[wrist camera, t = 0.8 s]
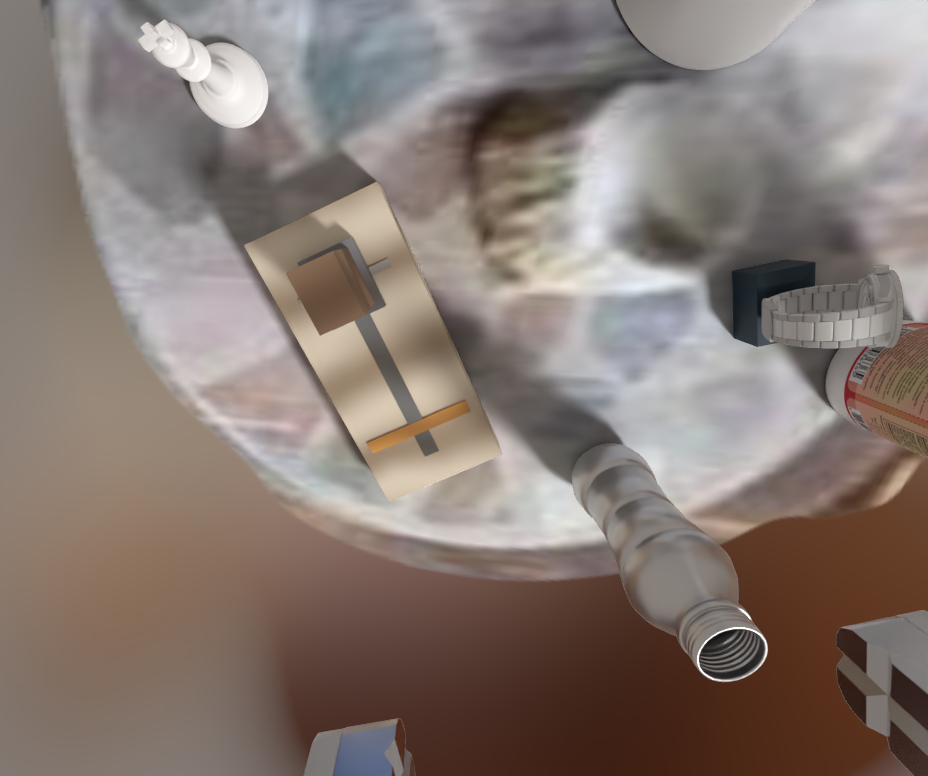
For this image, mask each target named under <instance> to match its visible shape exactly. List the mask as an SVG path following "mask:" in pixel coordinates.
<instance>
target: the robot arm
mask: <svg viewBox="0 0 928 776" xmlns="http://www.w3.org/2000/svg"><path fill="white" fill-rule="evenodd" d="M815 1H816V0H616V2H617V5H618V7H619V10H620V12H621V14H622V16H623V18H624V20H625V22H626V23H627V25H628V27H629V28H630V30H631V31H632V33H633V34H634V35H635V36H636V38H637V39H638V40H639V41H640V42H641V43H642V44H643V45H644V46H645V47H646V48H647V49H648V50H649V51H651V52H652V53H653V54H655V55H656V56H658V57H659V58H661V59H662V60H664V61H666V62H668V63H671V64H673V65H676V66H679V67H683V68H687V69H693V70H714V69H720V68H725V67H728V66H732V65H735V64H737V63H740V62H742V61H744V60H746V59H748V58H750V57H752V56H754V55H755V54H757V53H758V52H760V51H761V50H763V49H764V48H765V47H767V46H768V45H769V44H770V43H772V42H773V41H774V40H775V39H776V38H777V37H778V36H779V35H780V34H781V33H782V32H783V31H784V30H785V29H786V28H787V27H788V26H789V25H790V24H791V23H792V22H793V21H794V20H795V19H796V18H797V17H798V16H799V15H800V14H801V13H802V12H803V11H804V10H805V9H807V8H808V7H809V6H810V5H811V4H812V3H813V2H815ZM836 646H837V647H838V648H839V649H840V650H841V651H842V652H843V653H844V656H843V658H842V659H841V660H840V662H839V664H838V665H837V682H838V685H839V687H840V689H841V692H842V694H843V697H844V699H845V701H846V702H847V703H848V705H849V706H850V708H851V709H852V711H853V712H854V713H855V714H856V715H857V717H858V718H859V719H860V720H861V721H862V722H863V723H864V724H865V725H866V726H867V727H869V728H871V729H873V730H875V731H877V732H879V733H881V734H883V735H885V736H887V738H888V744H889V748H890V751H891V752H892V753H893V754H894V755H895V756H896V758H897V759H898V760H899V761H900V762H901V763H902V764H903V765H904V766H905V767H906V768H907V769H908V770H909V771H910V772H911V773H912V774H913V775H914V776H928V612H927V611H924V610H921V611H916V612H911V613H907V614H902V615H897V616H894V617H888V618H883V619H879V620H874V621H869V622H864V623H860V624H855V625H851V626H846V627H842V628H840V629H839V631H838V633H837V634H836ZM405 737H406V733H405V730H404V727H403V723H402V720H401V719H392V720H387V721H381V722H375V723H369V724H364V725H358V726H352V727H347V728H344V729H339V730H333V731H327V732H321V733H318V734H317V736H316V738H315V739H314V741H313V743H312V746H311V750H310V754H309V757H308V761H307V765H306V769H305V772H304V776H416V775H415V769H414V763H413V759H412V756H411V753H409V752H408V751H407V750H405Z"/></svg>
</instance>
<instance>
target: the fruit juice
mask: <svg viewBox="0 0 928 776" xmlns="http://www.w3.org/2000/svg"><path fill="white" fill-rule="evenodd" d="M826 393H827V397H828V400H829V402H830V404H831V406H832V407H833V408H834V410H835V411H836V412H837V413H838V414H839V415H840V416H842V417H843V418H844V419H846V420H848V421H849V422H851V423H853V424H855V425H857V426H859V427H861V428H863V429H865V430H867V431H870V432H872V433H874V434H876V435H878V436H880V437H883V438H885V439H887V440H889V441H891V442H893V443H895V444H898V445H900V446H902V447H904V448H906V449H908V450H910V451H913V452H915V453H917V454H919V455H921V456H923V457H926V458H928V324H927V323H922V322H917V321H911V320H903V322H902V328H901V333H900V336H899V339H898V341H897V343H896V345H895V346H894V347H893V348H885V347H874V348H873V347H867V346H856V347H850V348H839V349H838V351H837V352H836V354H835V355H834V357H833V359H832V361H831V363H830V365H829V368H828V371H827V375H826Z"/></svg>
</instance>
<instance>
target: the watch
mask: <svg viewBox="0 0 928 776" xmlns="http://www.w3.org/2000/svg"><path fill="white" fill-rule="evenodd" d="M732 279H733V319H734V338H735V339H738V340H740V341H743V342H746V343H749V344H751V345H754V346H757V347H759V346H764V345H769V344H774V343H781V344H785V345H787V344H788V345H792V346H799V347H802V346H803V347H810V348H838V347H839V348H850V347H856V346H867V347H873V348H874V347H885V348H893V347H894V346H895V345H896V343H897V341H898V339H899V336H900V333H901V328H902V322H903V293H902V287H901V283H900V280H899V277H898V275H897V273H896V272H895V271H894V270H889V265H878V266H874V267H873V273H872V274H869V275H867V276H865V277H864V278H861V279H858V283H857V284H836V285H835V290H834V284H832V285H822V286H819V291H818V286H815V262H807V261H795V260H782V261H778V262H773V263H768V264H763V265H759V266H754V267H749V268H745V269H740V270H735V271H732ZM828 292H829V301H828ZM844 295H845V299H844ZM817 310H818V314H817ZM833 310H834V312H833ZM839 316H840V319H839ZM833 321H834V328H833ZM814 322H815V340H814ZM832 339H833V340H832ZM838 341H839V342H838Z"/></svg>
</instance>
